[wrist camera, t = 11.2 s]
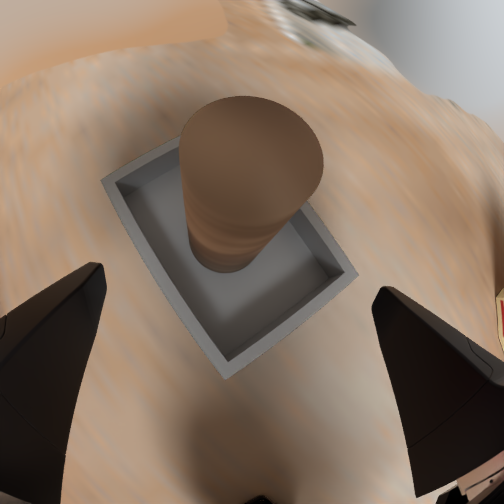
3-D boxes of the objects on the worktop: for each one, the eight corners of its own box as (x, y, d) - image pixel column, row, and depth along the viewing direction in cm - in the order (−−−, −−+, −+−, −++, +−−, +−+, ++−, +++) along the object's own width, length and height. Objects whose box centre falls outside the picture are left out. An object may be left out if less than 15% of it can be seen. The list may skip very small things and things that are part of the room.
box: (220, 369, 18) (224, 380, 15) (113, 200, 20) (100, 180, 16) (336, 282, 21) (358, 275, 18) (229, 137, 23) (234, 111, 19)
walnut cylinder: (215, 287, 18) (234, 246, 8) (175, 227, 19) (153, 128, 8) (273, 247, 20) (349, 174, 9) (234, 192, 20) (267, 83, 10)
